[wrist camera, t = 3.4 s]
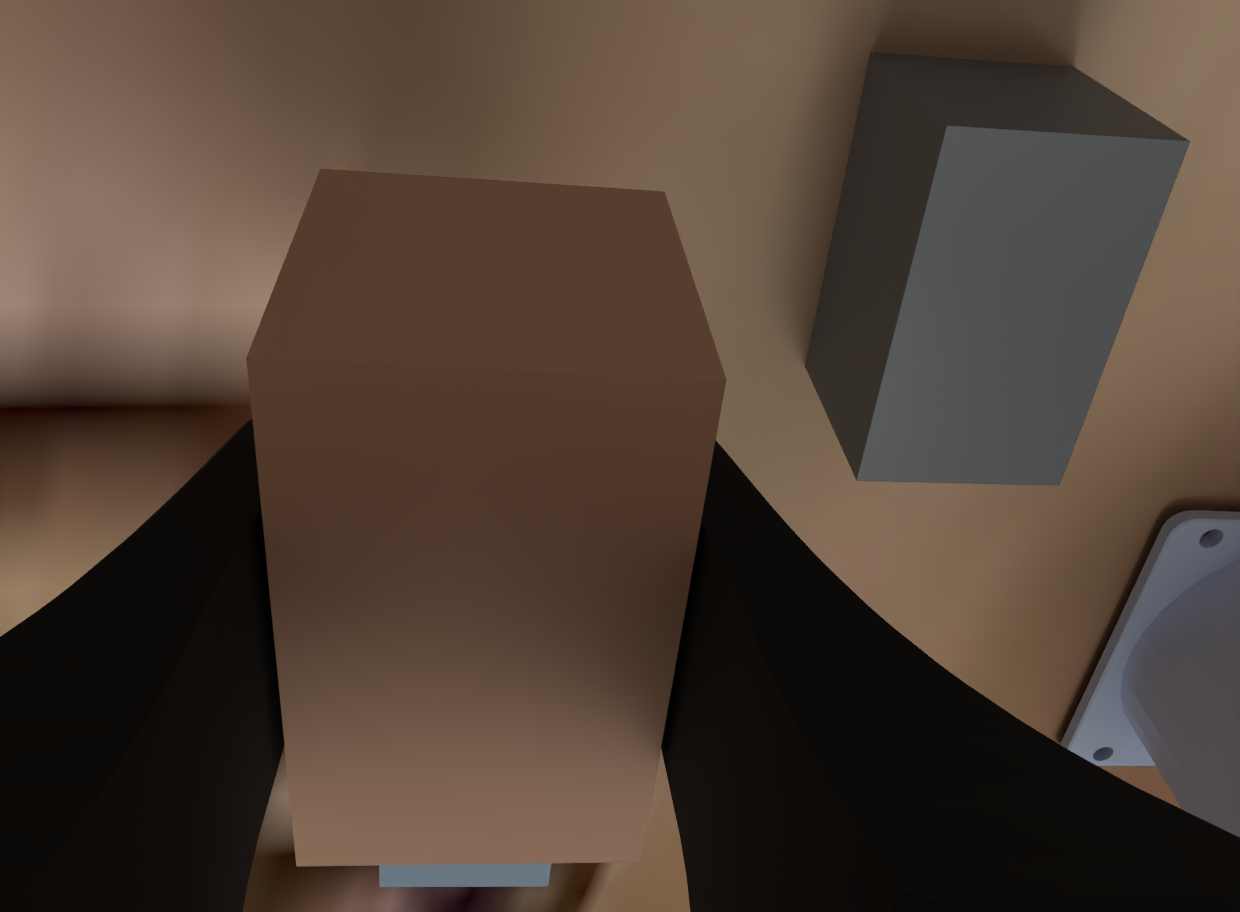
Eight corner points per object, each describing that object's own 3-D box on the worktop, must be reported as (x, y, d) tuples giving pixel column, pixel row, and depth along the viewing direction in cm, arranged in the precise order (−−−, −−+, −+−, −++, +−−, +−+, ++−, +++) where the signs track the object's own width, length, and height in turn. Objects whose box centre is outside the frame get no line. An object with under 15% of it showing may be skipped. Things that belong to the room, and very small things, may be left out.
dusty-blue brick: (563, 555, 24) (573, 689, 21) (543, 744, 27) (548, 886, 24) (395, 549, 24) (378, 685, 20) (395, 742, 27) (379, 886, 24)
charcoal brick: (1071, 64, 19) (1190, 141, 16) (977, 370, 22) (1059, 485, 19) (868, 50, 19) (947, 125, 15) (803, 363, 22) (856, 480, 19)
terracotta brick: (664, 191, 12) (726, 378, 9) (610, 610, 15) (640, 861, 12) (320, 168, 11) (245, 357, 8) (342, 606, 15) (297, 866, 11)
